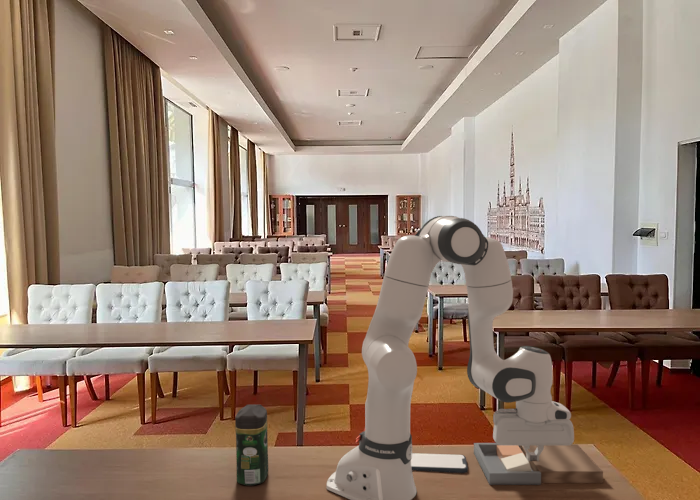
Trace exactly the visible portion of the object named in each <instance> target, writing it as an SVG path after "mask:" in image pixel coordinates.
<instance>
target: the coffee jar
mask: <svg viewBox="0 0 700 500" xmlns="http://www.w3.org/2000/svg"><path fill="white" fill-rule="evenodd" d="M234 418H235V419H234V420H235V421H234V422H235V426H234V428H235V446H236V447H235V448H236V450H235V451H236V452H235V453H236V456H235V459H236V481H237V483H238V484H240V485H244V486H250V487H251V486H256V485H259V484H263V483H264V482H265V481H266V480H267V477H268V474H269V448H268V444H269V443H268V442H269V441H268V412H267V408H266V407H264V406H263V405H262V404H246V405H245V406H243V407H242V408H240V409H238V411H237V413H236V415H235V417H234Z"/></svg>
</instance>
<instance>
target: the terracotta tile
mask: <svg viewBox="0 0 700 500" xmlns="http://www.w3.org/2000/svg"><path fill="white" fill-rule="evenodd" d="M520 453H523V452H522V450H521V449H520V448H519V446H518V445H497V456H498V457H499V459H500V461H501V458H505V457H509V456H512V455H516V454H520ZM523 454H524V453H523ZM524 456H525V455H524Z"/></svg>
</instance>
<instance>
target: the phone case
mask: <svg viewBox="0 0 700 500" xmlns="http://www.w3.org/2000/svg"><path fill="white" fill-rule="evenodd" d="M411 466H412V471H415V470H416V471H418V472H423V471H424V472H434V473H435V472H436V473H438V472H439V473H452V474H453V473H455V474H466V473H468V471H469V468H468V461H467V457H466V456H465V455H464V454H449V453H422V452H421V453H418V452H412V458H411Z"/></svg>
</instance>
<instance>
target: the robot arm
mask: <svg viewBox="0 0 700 500" xmlns="http://www.w3.org/2000/svg"><path fill="white" fill-rule="evenodd" d="M441 261H443V262H448V263H452V264H456V265H461V267H462V269H463V273H464V279H465V284H466V285H465V286H466V292H467V303H468V306H467V324H468V326H467V327H468V338H469V358H468V362H467V369H466V374H467V378H468V380H469V382H470V383H471V385H472V386H474V387H475V388H477V389H479V390H481V391H483V392H485V393H486V394H488V395H490V396H491V397H494V398H495V399H497V400H498V401H500V402H502V403H508V404H509V403H515V408H499V409H498V410H496V411H495V412H494V413H493V416H492V417H493V418H492V419H493V420H492V421H493V429H492V430H493V433H492V438H493V440H494V443H497V444H498V445H522V447H523V448H524V450H525V452H526V459H527V460H528V461H539V455H540V454H541V452H542V451H543V450H544V445H563V446H570V445H572V444H573V443H574V442H575V430H574V429H575V428H574V424H573V422H572V420H571V418H572V413H571V411H570V410H569V409H568V408H567V407H566V405H564V404H562V403H560V402H556V401H553V396H552V393H551V389H552V386H553V362H552V357H551V354H550V353H549V352H548V351H546V350H544V349H542V348H540V347H535V346H530V345H522V346H520V347H519V349H518V351H517V352H515V353H514V354H513V355H511V356H510V357H508V358H506V359H503V358H501V357H500V356H499V355H498V353H497V352H496V350H495V347H494V346H495V345H494V328H493V323H494V320H495V318H496V317H498V316H502V315H503V314H504V313H506V312H507V311H508V310H509V309H510V307H511V306H512V304H513V298H514V287H513V281H512V276H511V269H510V265H509V261H508V257H507V255H506V252H505V249H504V246H503V244H502V243H501V242H500V240H497V239H495V238H492V237H486V236H485V235H484V234H483V233H482V231H481V229H480V227H479V226H478V225H476V224H475V223H474V222H473V221H472V220H469V219H467V218H463V217H458V216H454V215H437V216H435V217H432V218H430V219H428V220H427V221H426V222H425V223H424V224H423V225H422V227H421V228H420V229H419V230H418V231H417V232H416V233H415V235H413V234H412V235H411V234H410V235H409V234H408V235H404V236H402V237H400V238H398V240H396V242H395V244H394V246H393V248H392V250H391V253H390V255H389V258H388V261H387V264H386V268H385V271H384V275H383V279H382V282H381V288H380V291H379V294H378V295H379V297H378V300H377V304H376V307H375V310H374V313H373V314H372V319H371V321H370V322H369V326H368V329H367V331H366V334H365V337H364V339H363V341H362V347H361V357H362V360H363V362H364V364H365V365H366V369H367V373H368V383H367V394H366V400H365V403H364V406H365V407H364V410H365V411H364V412H365V413H364V417H365V419H364V420H365V421H364V422H365V424H364V425H365V426H364V429H363V431H362V432H359V434H358V436H357V437H356V438H355V440H356V441H355V444H357V443H358V444H359V445H357V446H356V447H354V448H352V449H350V450H349V451H348V452H346V453H345V454H344V455H342V457H341V458H340V459H339V461H338V463H337V466H336V470H335V471H334V472H333V473H331V475H330V476H329V477H328V479H327V481H326V490H327V491H330V492H332V493H335V494H336V495H339V496H341V497H343V498H346V499H348V500H413V499H414V498H415V497H416V495H417V487H416V484H415V480H414V475H413V470H412V466H411V458H412V453H413V435H412V434H411V404H412V403H411V402H412V396H413V391H414V385H415V380H416V377H417V373H418V364H417V360H416V357H415V355H414V352H413V351H412V349H411V348H410V347H409V342H410V340H411V337H412V335H413V332H414V329H415V327H416V326H417V324H418V322H419V321H420V319H421V318H422V315H423V310H424V306H425V303H426V298H427V294H428V290H429V286H430V281H431V275H432V273H433V271H434V269H435V267H436V266H437V264H439V262H441ZM530 445H536V446H537V448H536V450H535V452H529V451H528V449H530Z"/></svg>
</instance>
